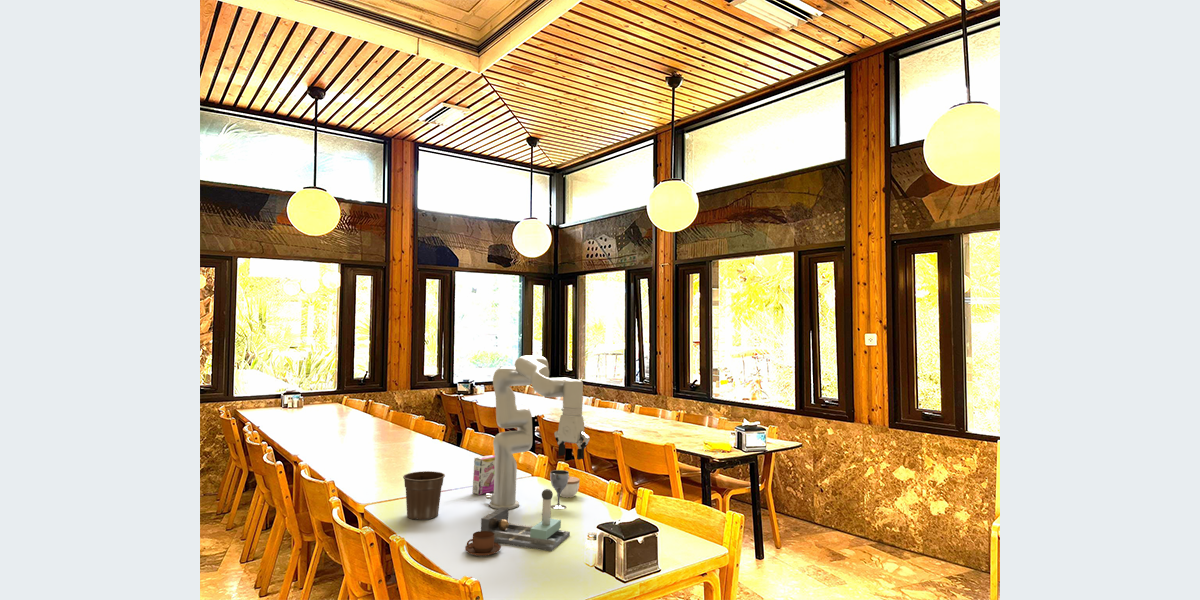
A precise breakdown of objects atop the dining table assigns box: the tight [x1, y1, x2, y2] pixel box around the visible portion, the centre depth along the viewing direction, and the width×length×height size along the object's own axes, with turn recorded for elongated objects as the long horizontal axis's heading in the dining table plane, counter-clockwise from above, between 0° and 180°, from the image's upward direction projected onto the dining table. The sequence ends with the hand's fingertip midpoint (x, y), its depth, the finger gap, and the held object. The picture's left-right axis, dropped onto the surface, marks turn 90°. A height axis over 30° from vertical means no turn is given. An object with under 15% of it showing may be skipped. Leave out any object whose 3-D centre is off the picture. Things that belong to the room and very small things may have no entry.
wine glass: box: [549, 469, 570, 510], centre depth 270 cm, size 8×8×15 cm
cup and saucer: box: [464, 530, 502, 557], centre depth 212 cm, size 12×12×6 cm
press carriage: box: [530, 488, 562, 540], centre depth 226 cm, size 6×14×16 cm, turn 162°
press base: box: [480, 507, 571, 552], centre depth 228 cm, size 28×18×8 cm, turn 72°
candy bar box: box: [472, 454, 495, 496], centre depth 290 cm, size 11×5×16 cm, turn 144°
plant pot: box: [402, 470, 446, 521], centre depth 250 cm, size 16×16×16 cm
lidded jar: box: [560, 476, 581, 498], centre depth 289 cm, size 11×11×9 cm
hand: (570, 457), depth 237 cm, fingers open, 9 cm apart
